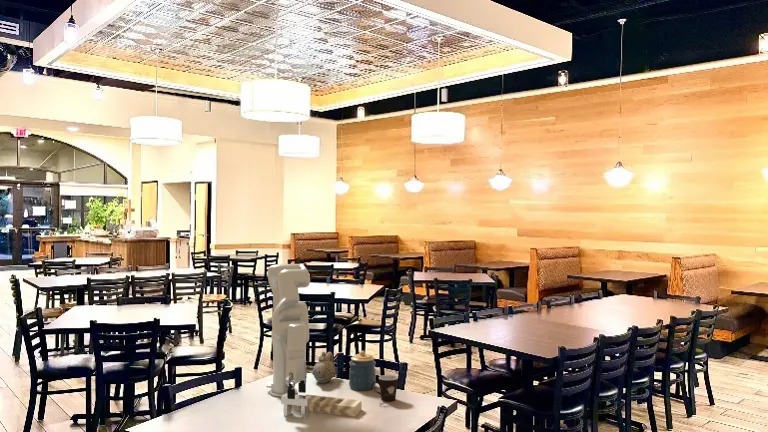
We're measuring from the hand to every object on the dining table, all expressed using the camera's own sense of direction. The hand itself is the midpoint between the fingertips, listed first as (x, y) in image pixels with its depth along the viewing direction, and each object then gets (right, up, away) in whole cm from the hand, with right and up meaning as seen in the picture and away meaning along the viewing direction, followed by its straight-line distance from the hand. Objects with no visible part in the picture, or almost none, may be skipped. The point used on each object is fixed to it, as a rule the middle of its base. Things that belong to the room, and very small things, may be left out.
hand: (296, 395), depth 240 cm
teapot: (+6, -9, +51) cm, 52 cm away
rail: (+13, -9, +8) cm, 17 cm away
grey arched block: (0, -9, +1) cm, 9 cm away
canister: (+26, -9, +41) cm, 49 cm away
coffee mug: (+36, -9, +22) cm, 44 cm away
